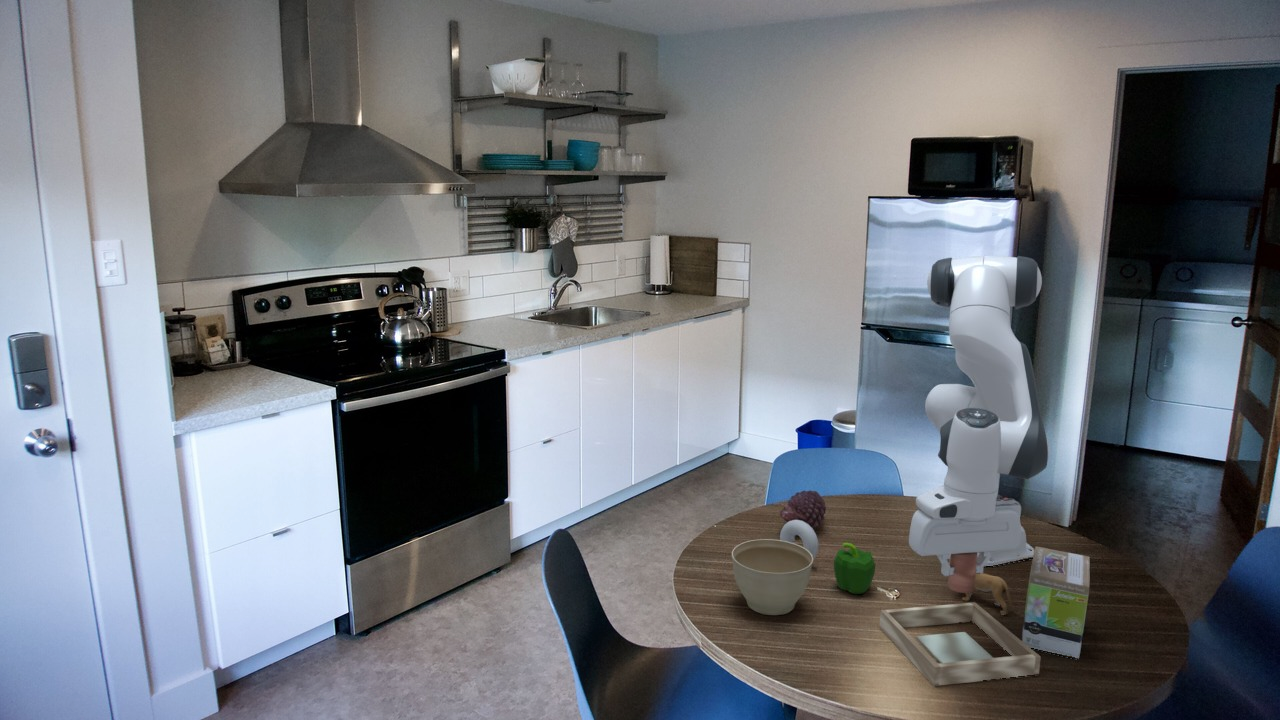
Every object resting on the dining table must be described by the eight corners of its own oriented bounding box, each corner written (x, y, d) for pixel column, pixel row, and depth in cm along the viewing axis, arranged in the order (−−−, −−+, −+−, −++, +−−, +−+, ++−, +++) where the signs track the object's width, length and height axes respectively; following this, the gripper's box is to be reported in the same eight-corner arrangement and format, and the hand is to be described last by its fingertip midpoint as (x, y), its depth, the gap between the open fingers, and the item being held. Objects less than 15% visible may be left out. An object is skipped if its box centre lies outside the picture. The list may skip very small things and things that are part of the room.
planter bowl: (762, 579, 181) (764, 532, 179) (825, 605, 170) (829, 555, 168) (713, 603, 170) (715, 553, 168) (778, 633, 159) (781, 580, 157)
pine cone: (804, 514, 219) (806, 477, 217) (839, 524, 212) (842, 486, 210) (769, 534, 205) (771, 495, 203) (806, 545, 199) (808, 505, 197)
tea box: (1080, 662, 151) (1090, 585, 148) (1020, 647, 155) (1028, 573, 152) (1081, 625, 164) (1090, 554, 161) (1025, 612, 168) (1033, 543, 165)
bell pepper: (880, 588, 178) (884, 544, 176) (861, 601, 172) (864, 556, 170) (845, 576, 183) (848, 533, 181) (825, 588, 177) (828, 544, 175)
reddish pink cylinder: (965, 581, 154) (968, 545, 153) (978, 592, 150) (982, 555, 148) (943, 582, 153) (946, 546, 152) (956, 593, 149) (959, 556, 148)
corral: (973, 618, 165) (975, 602, 165) (1038, 675, 146) (1040, 656, 146) (879, 627, 162) (880, 610, 161) (933, 686, 142) (935, 667, 142)
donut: (820, 567, 187) (823, 525, 185) (810, 572, 185) (813, 529, 183) (785, 553, 195) (787, 512, 193) (775, 557, 192) (777, 516, 190)
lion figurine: (941, 596, 174) (945, 556, 173) (950, 588, 178) (954, 548, 177) (1015, 620, 165) (1019, 577, 163) (1023, 610, 169) (1027, 568, 167)
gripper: (1010, 492, 153) (1003, 562, 156) (907, 497, 150) (901, 569, 152) (1032, 504, 147) (1024, 577, 150) (925, 510, 143) (919, 585, 146)
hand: (961, 573), depth 151 cm, fingers closed on reddish pink cylinder, 4 cm apart
